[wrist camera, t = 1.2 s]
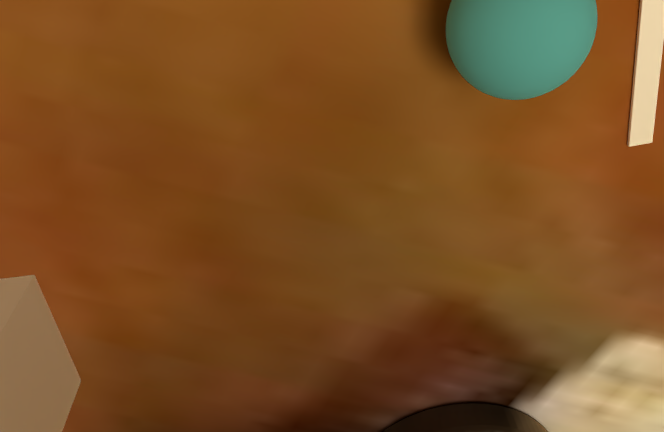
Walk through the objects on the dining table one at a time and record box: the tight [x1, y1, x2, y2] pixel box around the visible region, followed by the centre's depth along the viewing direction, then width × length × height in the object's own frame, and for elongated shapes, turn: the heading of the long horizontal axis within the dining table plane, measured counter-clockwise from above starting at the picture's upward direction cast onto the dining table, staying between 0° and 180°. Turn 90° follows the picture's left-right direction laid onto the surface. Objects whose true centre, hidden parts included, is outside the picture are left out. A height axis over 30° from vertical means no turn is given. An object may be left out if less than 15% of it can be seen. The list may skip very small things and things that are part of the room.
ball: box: [446, 0, 597, 100], centre depth 26 cm, size 6×6×6 cm
